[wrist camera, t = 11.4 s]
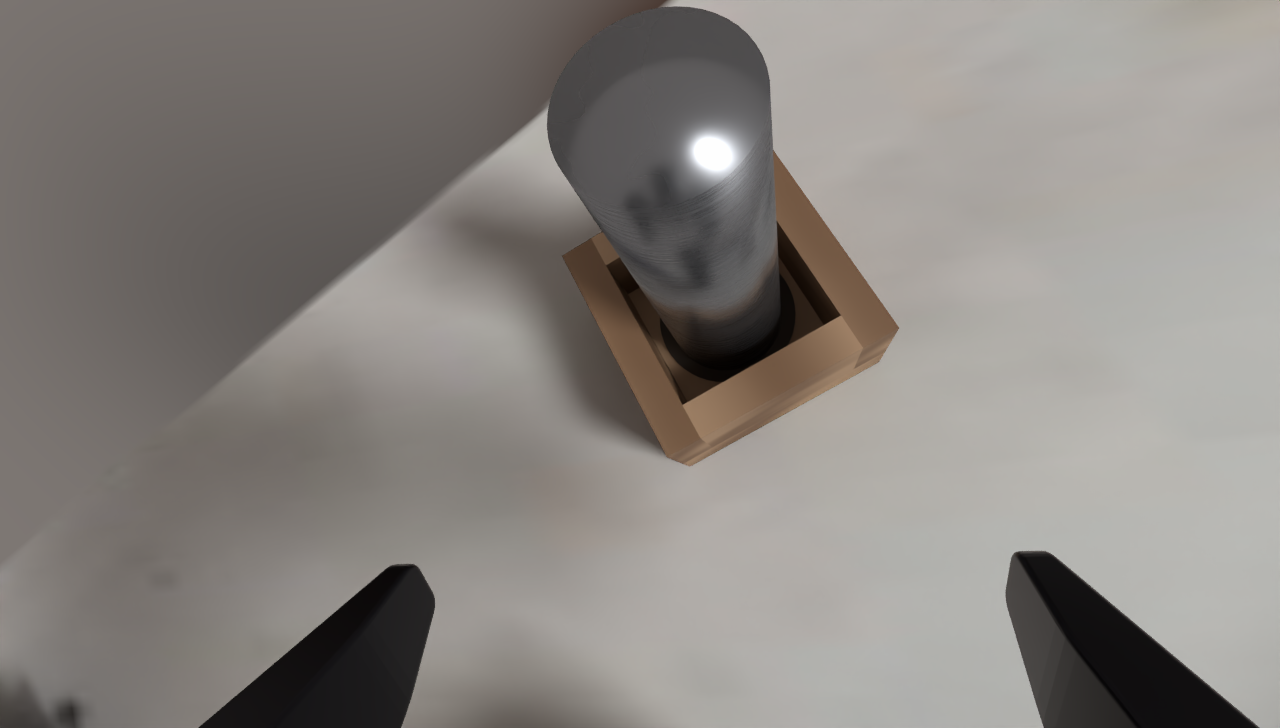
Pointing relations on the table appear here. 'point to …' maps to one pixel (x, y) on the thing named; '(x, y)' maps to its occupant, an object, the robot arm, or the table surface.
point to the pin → (680, 172)
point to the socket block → (774, 384)
